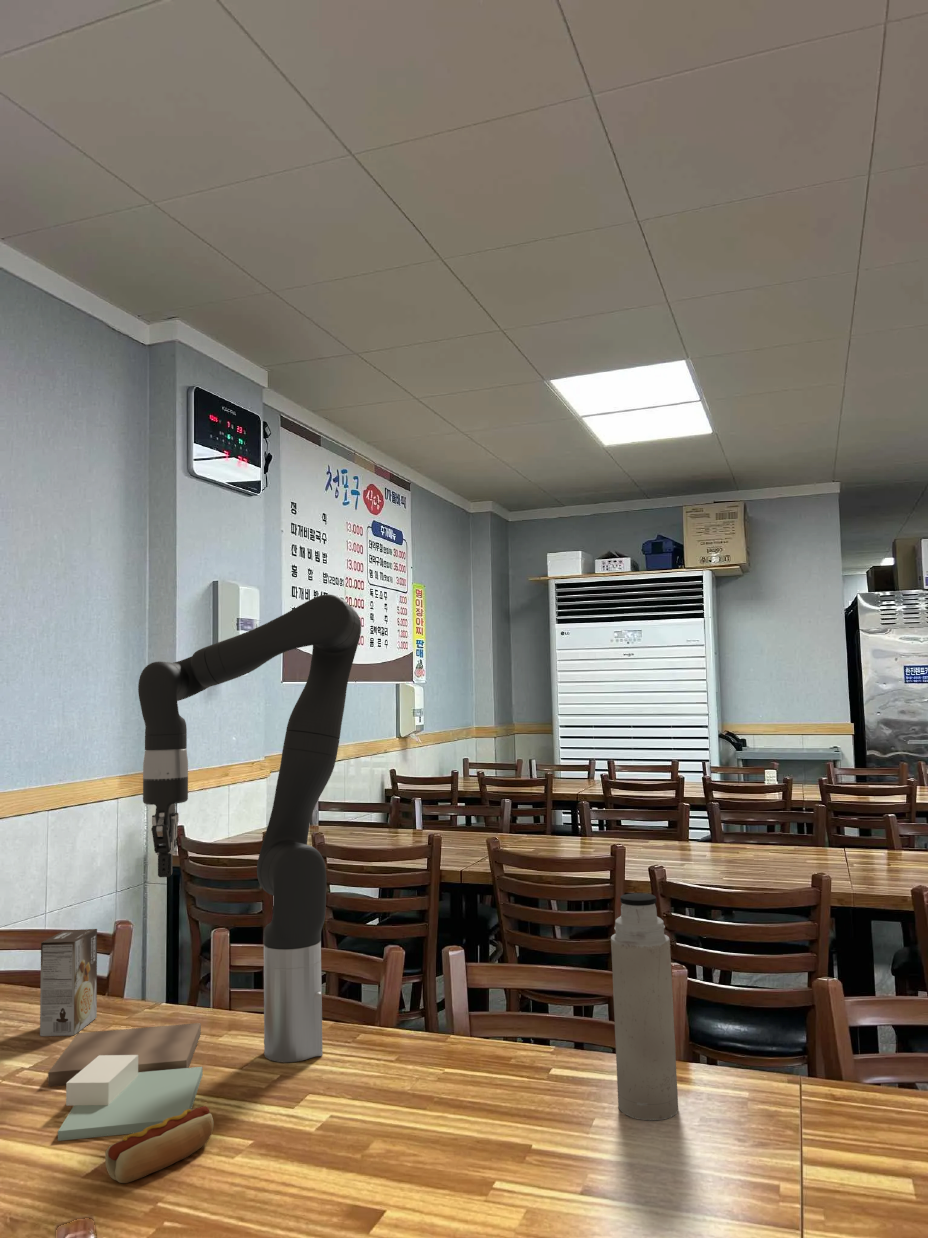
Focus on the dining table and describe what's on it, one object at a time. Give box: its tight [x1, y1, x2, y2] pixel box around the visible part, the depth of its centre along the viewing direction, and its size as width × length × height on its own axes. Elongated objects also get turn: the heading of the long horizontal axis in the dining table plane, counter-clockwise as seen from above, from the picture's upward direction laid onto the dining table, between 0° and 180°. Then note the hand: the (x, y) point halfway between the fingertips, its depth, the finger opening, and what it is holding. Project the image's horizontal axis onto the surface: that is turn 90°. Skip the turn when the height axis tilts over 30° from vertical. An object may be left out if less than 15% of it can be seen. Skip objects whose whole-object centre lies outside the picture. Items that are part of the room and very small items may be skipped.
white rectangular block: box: [65, 1055, 138, 1107], centre depth 129 cm, size 6×10×3 cm, turn 177°
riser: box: [47, 1022, 202, 1087], centre depth 144 cm, size 20×17×2 cm
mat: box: [57, 1066, 203, 1142], centre depth 127 cm, size 16×18×1 cm
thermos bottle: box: [610, 892, 679, 1121], centre depth 123 cm, size 8×8×28 cm
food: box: [104, 1105, 214, 1184], centre depth 110 cm, size 14×6×5 cm, turn 143°
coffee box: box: [39, 928, 98, 1037], centre depth 161 cm, size 9×6×16 cm
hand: (165, 876), depth 156 cm, fingers closed
